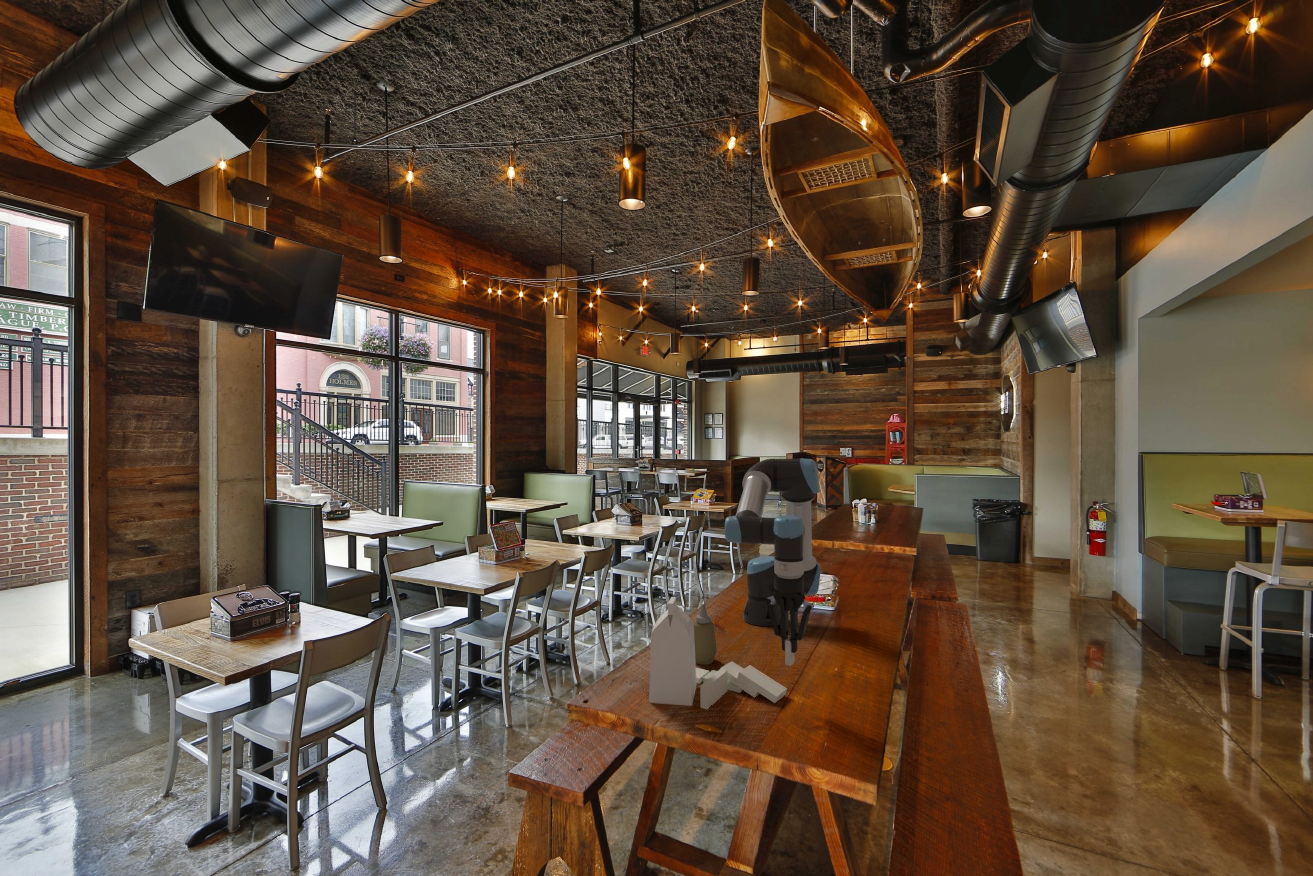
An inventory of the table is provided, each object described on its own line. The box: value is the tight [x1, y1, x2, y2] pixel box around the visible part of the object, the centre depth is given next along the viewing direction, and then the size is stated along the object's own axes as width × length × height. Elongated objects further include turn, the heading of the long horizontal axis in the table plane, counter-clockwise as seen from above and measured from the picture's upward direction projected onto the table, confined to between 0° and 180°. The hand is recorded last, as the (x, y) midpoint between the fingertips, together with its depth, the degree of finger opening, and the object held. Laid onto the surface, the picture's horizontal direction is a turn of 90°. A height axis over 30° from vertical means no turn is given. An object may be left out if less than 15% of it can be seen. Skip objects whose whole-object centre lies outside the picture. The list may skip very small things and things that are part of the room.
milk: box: [648, 596, 698, 707], centre depth 158 cm, size 12×12×26 cm
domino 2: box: [699, 668, 728, 710], centre depth 154 cm, size 2×6×12 cm
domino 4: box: [720, 660, 761, 699], centre depth 160 cm, size 2×6×12 cm
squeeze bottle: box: [693, 603, 718, 666], centre depth 179 cm, size 8×8×18 cm
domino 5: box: [737, 664, 788, 704], centre depth 157 cm, size 2×6×12 cm
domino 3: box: [702, 669, 744, 694], centre depth 164 cm, size 2×6×12 cm
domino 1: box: [696, 667, 710, 685], centre depth 170 cm, size 2×6×12 cm
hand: (789, 663), depth 152 cm, fingers closed
